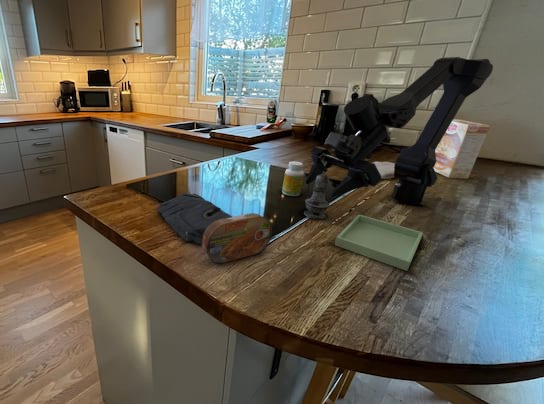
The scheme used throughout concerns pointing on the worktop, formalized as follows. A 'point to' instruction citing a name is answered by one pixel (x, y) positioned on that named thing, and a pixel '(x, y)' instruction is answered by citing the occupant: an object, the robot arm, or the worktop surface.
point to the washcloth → (385, 169)
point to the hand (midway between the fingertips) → (318, 189)
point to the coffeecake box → (459, 148)
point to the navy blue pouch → (190, 216)
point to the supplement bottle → (293, 179)
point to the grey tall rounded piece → (318, 199)
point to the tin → (236, 237)
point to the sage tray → (380, 241)
